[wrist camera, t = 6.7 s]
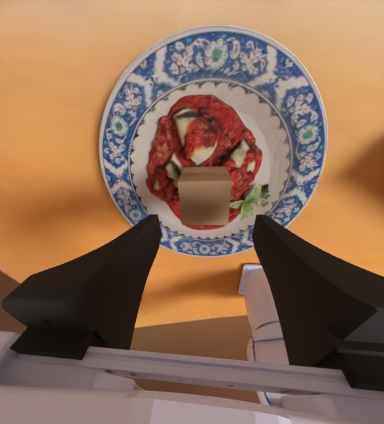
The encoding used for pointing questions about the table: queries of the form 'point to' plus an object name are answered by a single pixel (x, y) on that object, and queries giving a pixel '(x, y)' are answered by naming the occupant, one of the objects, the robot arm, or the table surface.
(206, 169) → the walnut block
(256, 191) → the ceramic plate
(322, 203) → the table surface
